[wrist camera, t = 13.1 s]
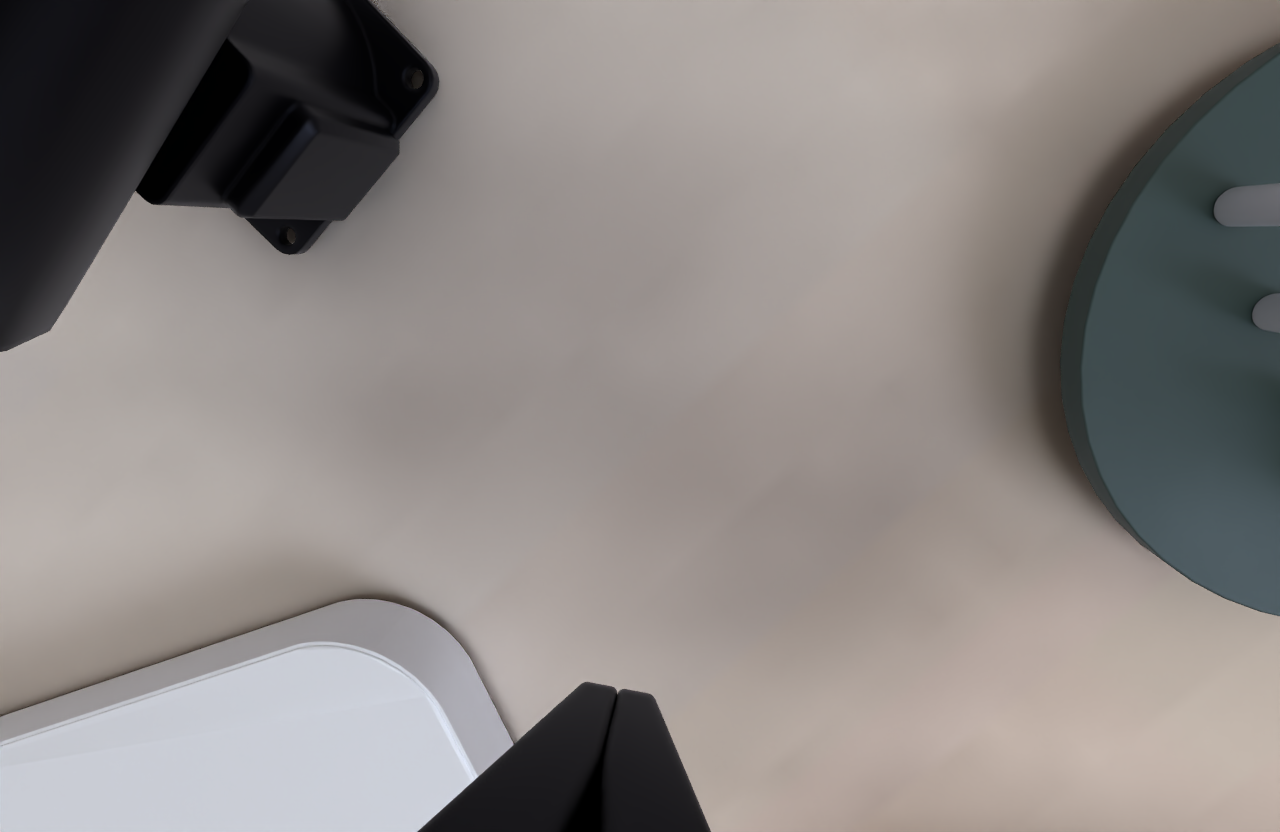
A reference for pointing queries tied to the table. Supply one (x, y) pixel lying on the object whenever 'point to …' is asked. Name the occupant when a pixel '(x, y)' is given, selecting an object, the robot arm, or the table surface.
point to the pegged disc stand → (1189, 344)
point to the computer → (262, 734)
